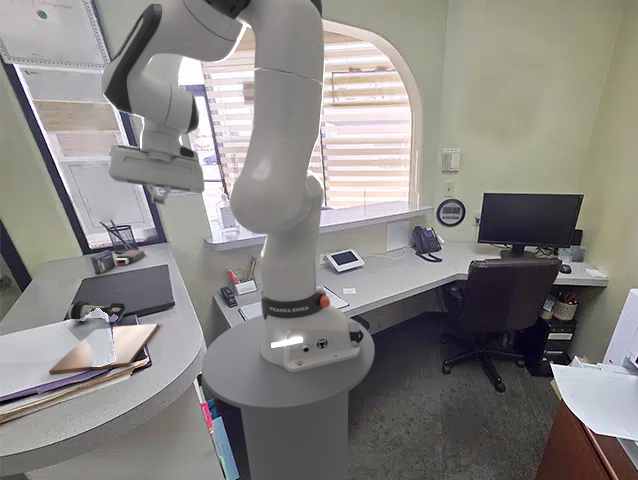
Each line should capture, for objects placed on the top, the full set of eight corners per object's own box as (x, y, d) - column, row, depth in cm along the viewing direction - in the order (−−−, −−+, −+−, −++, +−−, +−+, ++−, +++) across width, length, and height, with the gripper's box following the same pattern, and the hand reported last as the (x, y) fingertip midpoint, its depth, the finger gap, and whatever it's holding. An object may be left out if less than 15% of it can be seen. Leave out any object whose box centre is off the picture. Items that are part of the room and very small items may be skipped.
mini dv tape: (100, 273, 105) (95, 257, 103) (95, 274, 105) (90, 257, 102) (115, 265, 112) (111, 250, 110) (110, 266, 112) (106, 250, 110)
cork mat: (159, 326, 76) (158, 323, 76) (129, 366, 62) (128, 362, 62) (96, 331, 73) (95, 328, 73) (49, 374, 59) (48, 371, 58)
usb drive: (145, 255, 125) (143, 248, 124) (129, 264, 114) (127, 257, 113) (130, 255, 124) (128, 248, 123) (113, 265, 113) (111, 257, 112)
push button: (110, 318, 73) (58, 316, 71) (117, 332, 77) (67, 331, 74) (123, 298, 78) (75, 296, 76) (128, 312, 82) (83, 310, 79)
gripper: (106, 135, 72) (102, 192, 71) (205, 154, 82) (203, 205, 81) (113, 147, 78) (110, 200, 77) (205, 164, 87) (203, 212, 86)
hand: (158, 203), depth 79 cm, fingers closed
